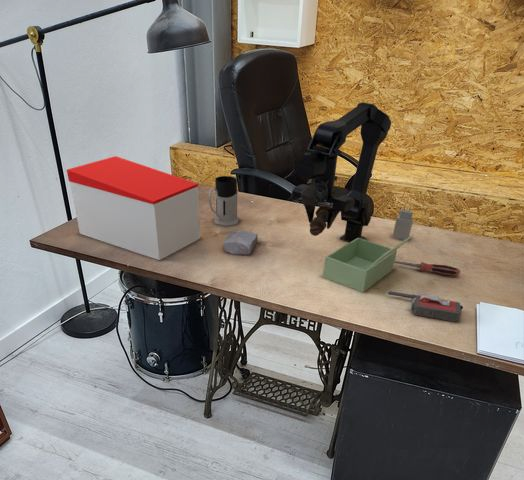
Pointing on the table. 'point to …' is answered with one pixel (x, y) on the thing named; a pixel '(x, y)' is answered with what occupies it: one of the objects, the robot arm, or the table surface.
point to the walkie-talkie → (433, 306)
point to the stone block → (240, 242)
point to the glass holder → (225, 200)
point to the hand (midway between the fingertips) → (319, 225)
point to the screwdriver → (434, 268)
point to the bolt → (319, 220)
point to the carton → (358, 264)
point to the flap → (390, 252)
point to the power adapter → (403, 224)
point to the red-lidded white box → (135, 206)
